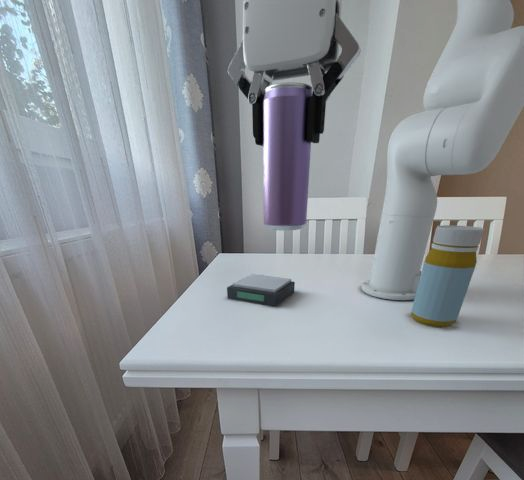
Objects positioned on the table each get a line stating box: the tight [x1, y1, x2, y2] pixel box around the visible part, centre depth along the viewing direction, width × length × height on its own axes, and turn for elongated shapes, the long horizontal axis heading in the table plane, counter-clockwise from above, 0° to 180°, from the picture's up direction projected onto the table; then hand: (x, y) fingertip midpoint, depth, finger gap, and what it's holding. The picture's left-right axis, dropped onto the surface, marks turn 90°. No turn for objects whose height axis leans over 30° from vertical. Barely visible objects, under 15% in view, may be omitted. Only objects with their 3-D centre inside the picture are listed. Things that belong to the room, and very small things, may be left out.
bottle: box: [410, 224, 485, 328], centre depth 47 cm, size 7×7×15 cm
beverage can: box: [262, 81, 313, 231], centre depth 38 cm, size 6×6×15 cm
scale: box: [226, 273, 296, 308], centre depth 62 cm, size 11×10×3 cm
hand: (287, 142), depth 37 cm, fingers closed on beverage can, 6 cm apart
